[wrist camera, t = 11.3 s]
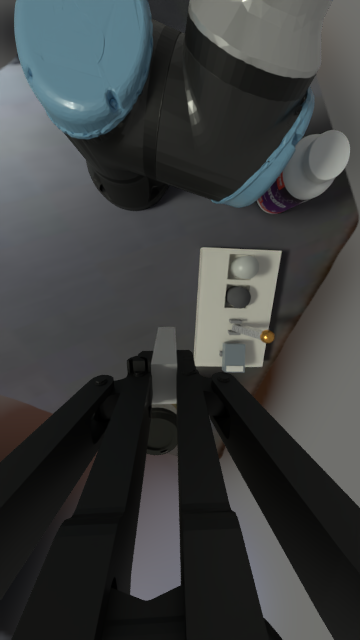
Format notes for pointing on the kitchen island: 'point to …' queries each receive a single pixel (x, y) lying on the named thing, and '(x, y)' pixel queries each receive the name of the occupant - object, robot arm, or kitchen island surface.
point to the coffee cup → (162, 429)
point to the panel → (221, 315)
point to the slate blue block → (233, 357)
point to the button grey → (244, 267)
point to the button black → (238, 296)
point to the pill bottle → (307, 171)
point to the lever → (254, 332)
